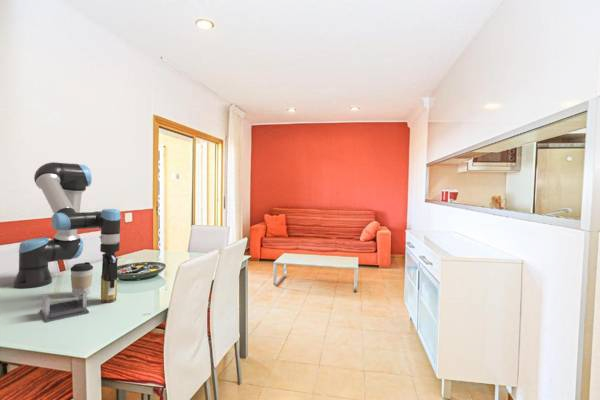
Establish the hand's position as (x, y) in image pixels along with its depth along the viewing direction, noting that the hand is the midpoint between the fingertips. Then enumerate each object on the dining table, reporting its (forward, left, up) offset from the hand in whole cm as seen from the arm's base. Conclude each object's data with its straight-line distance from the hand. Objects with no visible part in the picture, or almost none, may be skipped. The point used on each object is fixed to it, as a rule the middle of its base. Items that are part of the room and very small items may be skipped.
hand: (108, 292), depth 144 cm
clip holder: (+3, -17, -4) cm, 18 cm away
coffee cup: (-17, -7, -4) cm, 19 cm away
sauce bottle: (0, 0, -4) cm, 4 cm away
